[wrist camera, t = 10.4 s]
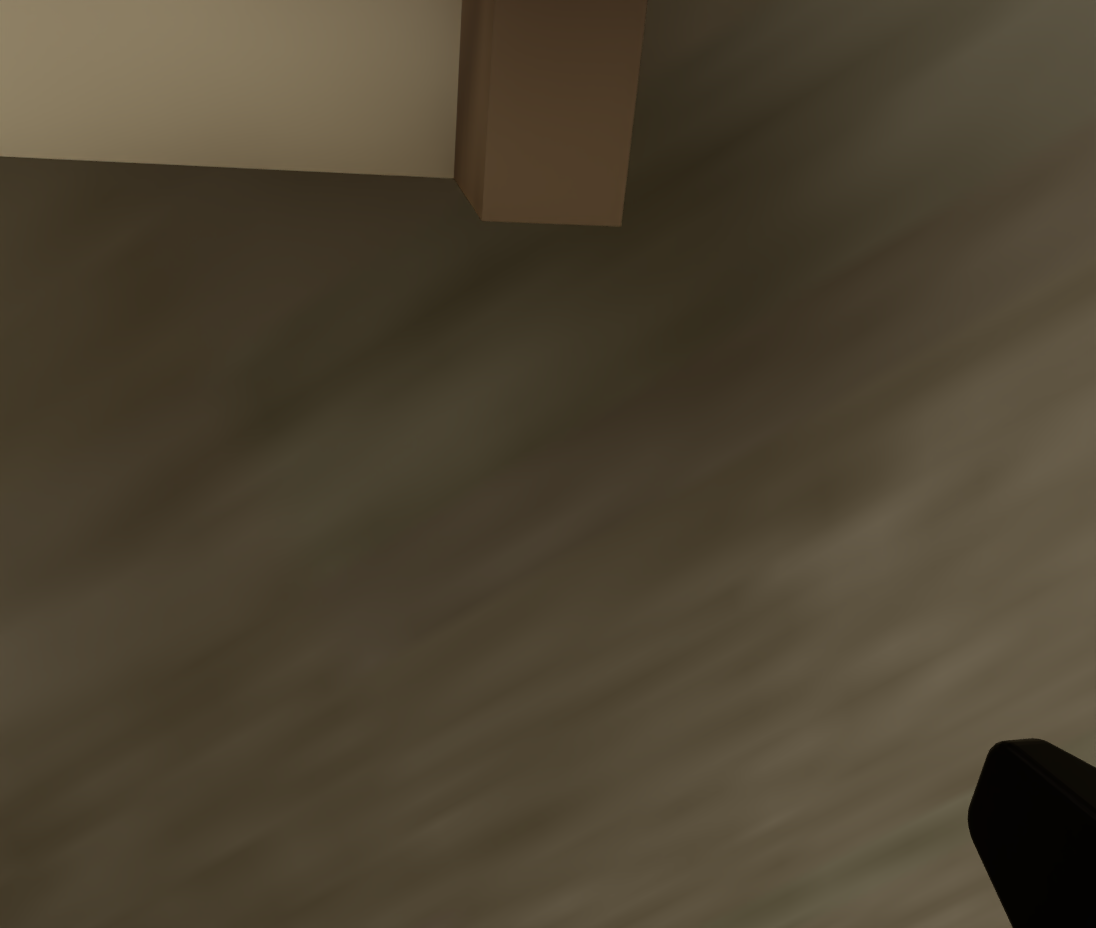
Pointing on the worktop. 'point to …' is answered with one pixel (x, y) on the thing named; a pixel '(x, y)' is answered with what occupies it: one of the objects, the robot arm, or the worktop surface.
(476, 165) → the wooden structure
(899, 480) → the worktop surface
